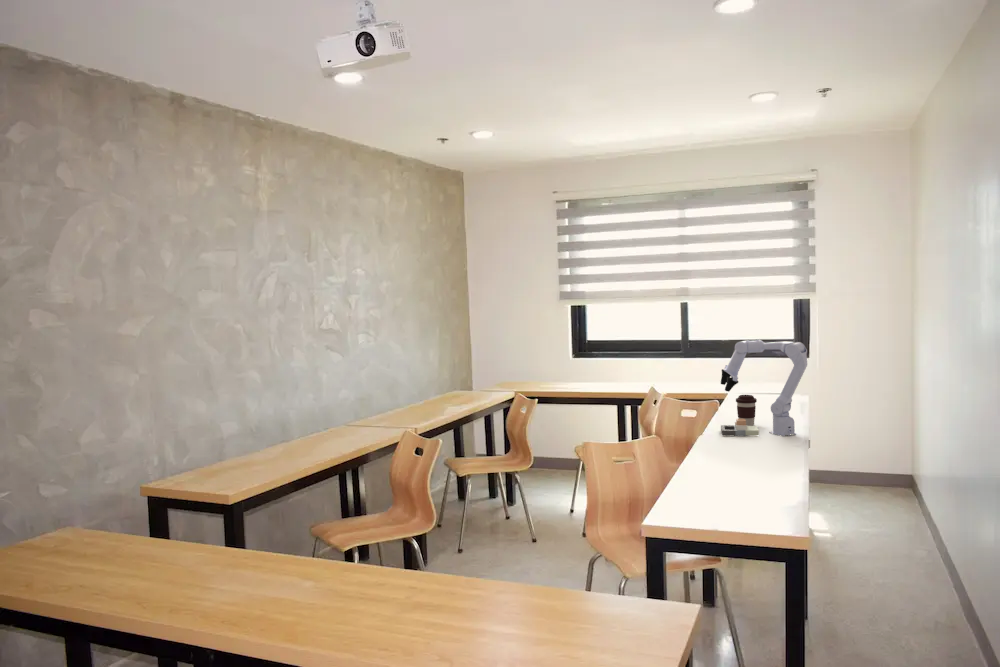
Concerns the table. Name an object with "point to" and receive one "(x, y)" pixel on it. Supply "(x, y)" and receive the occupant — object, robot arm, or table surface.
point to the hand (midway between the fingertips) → (724, 387)
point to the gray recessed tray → (732, 430)
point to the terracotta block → (740, 422)
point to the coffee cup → (746, 408)
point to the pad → (752, 430)
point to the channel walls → (740, 427)
